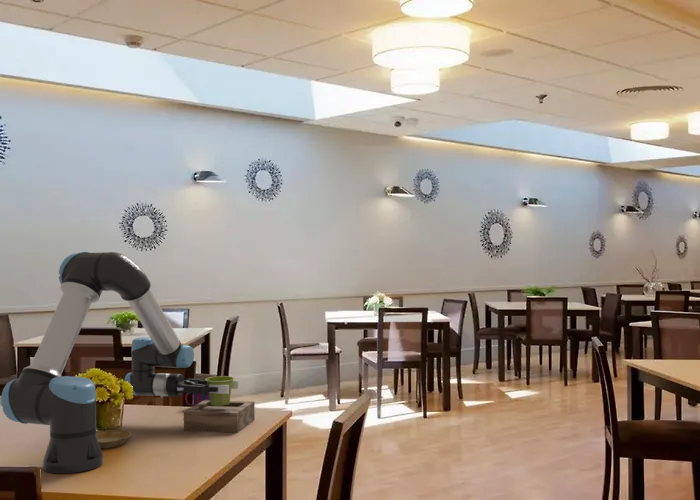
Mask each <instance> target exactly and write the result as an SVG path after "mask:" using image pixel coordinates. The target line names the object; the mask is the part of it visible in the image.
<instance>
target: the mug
mask: <svg viewBox="0 0 700 500" xmlns="http://www.w3.org/2000/svg"><path fill="white" fill-rule="evenodd" d="M189 395H191V393H185V397H184V399H185V403H186V405H188V406H190V407H193V406H194V405H196V404H198V403H200V402H202V401H204V400H210V395H209V392H208V396H205V393H204V394H203V395H202V394H192V403H189V402H188V401H189V400H188V396H189Z"/></svg>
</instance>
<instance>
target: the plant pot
mask: <svg viewBox="0 0 700 500" xmlns="http://www.w3.org/2000/svg"><path fill="white" fill-rule="evenodd" d="M204 379H205V380H206V381H207V385H208V387H209V385H229V394H218V393H209V395H210V402H211V405H213V406H223V405H229V403H230V401H231V395H232V389H231V388H232V384H233V380H235V377H234V376H227V375H219V376H218V375H217V376H211V377H207V378H204ZM224 380H225V381H224Z"/></svg>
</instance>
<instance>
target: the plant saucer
mask: <svg viewBox="0 0 700 500" xmlns="http://www.w3.org/2000/svg"><path fill="white" fill-rule="evenodd" d="M96 436H97V439H98V442H99V445H100V448H101V449H107V448H116V447H118V446H121V445H124V443H125V442H127V440H128V439H129V438H130V437H131V436H132V433H131V431H128V430H124V429H105V431H102V430H96Z"/></svg>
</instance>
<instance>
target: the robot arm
mask: <svg viewBox="0 0 700 500" xmlns="http://www.w3.org/2000/svg"><path fill="white" fill-rule="evenodd" d="M58 274H59V276H58V280H59V281H58V282H59V283H60V289H61V292H62V295H61V298H60V299H59V302H58V304H57V306H56V308H55V311H54V313H53V315H52V317H51V320H50V322H49V324H48V326H47V328H46V330H45V333H44V335H43V337H42V339H41V342H40V344H39V346H38V348H37V350H36V353H35V355H34V357H33V360H32V362H31V364H30V365H28V366H26V367H24V368H23V369H22V371H20V374H19V377H18V378H15V379H12V380H11V381H8V382H7V383H6V384H5V386H4V388H3V390H2V392H1V395H0V396H1V397H0V401H1V402H0V403H1V404H0V405H1V407H2V412H3V413H4V415H5V416H6V418H7V419H9V420H10V421H13V422H15V423H20V424H25V425H26V424H34V425H44V426H49V441H48V445H47V448H46V451H45V453H44V455H43V460H42V469H43V471H45V472H46V473H51V474H75V473H81V472H87V471H90V470H93V469H96V468H99V467H101V466H102V465H103V464H104V454H103V450H102V448H100V445H99V442H98V439H97V436H96V431H97V393H96V385H95V383H94V381H92V380H91V379H90V378H86V377H82V376H75V375H74V376H70V375H64V376H63V375H62V373H63V372H64V369H65V367H66V364H67V361H69V357H70V354H71V353H72V351H73V347H74V346H75V343H76V340H77V339H78V336H79V334H80V331H81V328H82V326H83V324H84V322H85V319H86V317H87V315H88V312H89V311H90V308H91V305H92V304H94V303H97V302H98V301H99V299H100V298H101V296H102V293H103V291H105V292H106V291H111V292H116V293H117V294H118V295H119V296H120V297H121V299H122V300H124V301H125V302H128V304H129V305H130V307H131V309H132V310H133V312H134V314H135V315H136V317H137V318H138V321H139V322H140V323H141V325H142V326H143V328H144V329H145V332H146V333H147V335H148V336H149V337H148V336H147V337H136V338H133V339H132V341H131V350H130V353H131V372H128V373H127V374H126V375H125V377H124V382H125V381H128V382H129V383H130V384H131V385H132V386H133V395H134V396H139V397H140V396H153V397H154V396H155V397H157V396H158V397H159V396H160V398H161V399H163V398H164V397H177V398H178V397H181V396H182V395H183V394H187V393H190V394H192V395H193V394H202V395H203V394H204V393H205V396H208V392H209V393H218V394H229V385H209V387H208V385H207V381H206V380H205V379H206V378H196V377H193V378H187V379H185V377H184V375H182V374H181V373H168V372H166V373H165V372H161V373H160V372H157V373H156V372H155V370H156V368H155V367H159V368H172V369H173V368H175V369H182V368H183V369H186V368H189V367H191V365H192V364H193V362H194V359H195V352H194V351H195V350H194V349H193V347H192V346H191V345H187V344H182V342H181V341H180V339H179V337H178V336H177V333H176V332H175V331H174V328H173V326H172V325H171V324H170V322H169V320H168V317H167V316H166V315H165V314H166V313H164V311H163V310H162V307H161V306H160V304H159V302H158V300H157V298H156V296H155V295H154V293H153V292H152V290H151V288H152V287H151V286H152V284H151V282H150V280H149V277H148V276H147V274H146V273H145V271H144V270H143V269H142V268H141V267H140V266H139V265H138V264H137V263H136V262H134V260H132V259H131V258H130V257H128V256H127V255H124V254H122V253H119V252H114V251H109V252H104V251H103V252H88V251H81V252H76V253H75V252H74V253H72V254H70V255H68V256H67V257H66V258H64V259H63V260H62V262H61V264H60V266H59V270H58ZM224 381H225V380H224ZM239 383H240V382H239V379H234V380H233V384H232V388H231V390H232V389H236V390H237V389H239V388H240V386H239ZM133 395H132V396H133Z"/></svg>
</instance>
